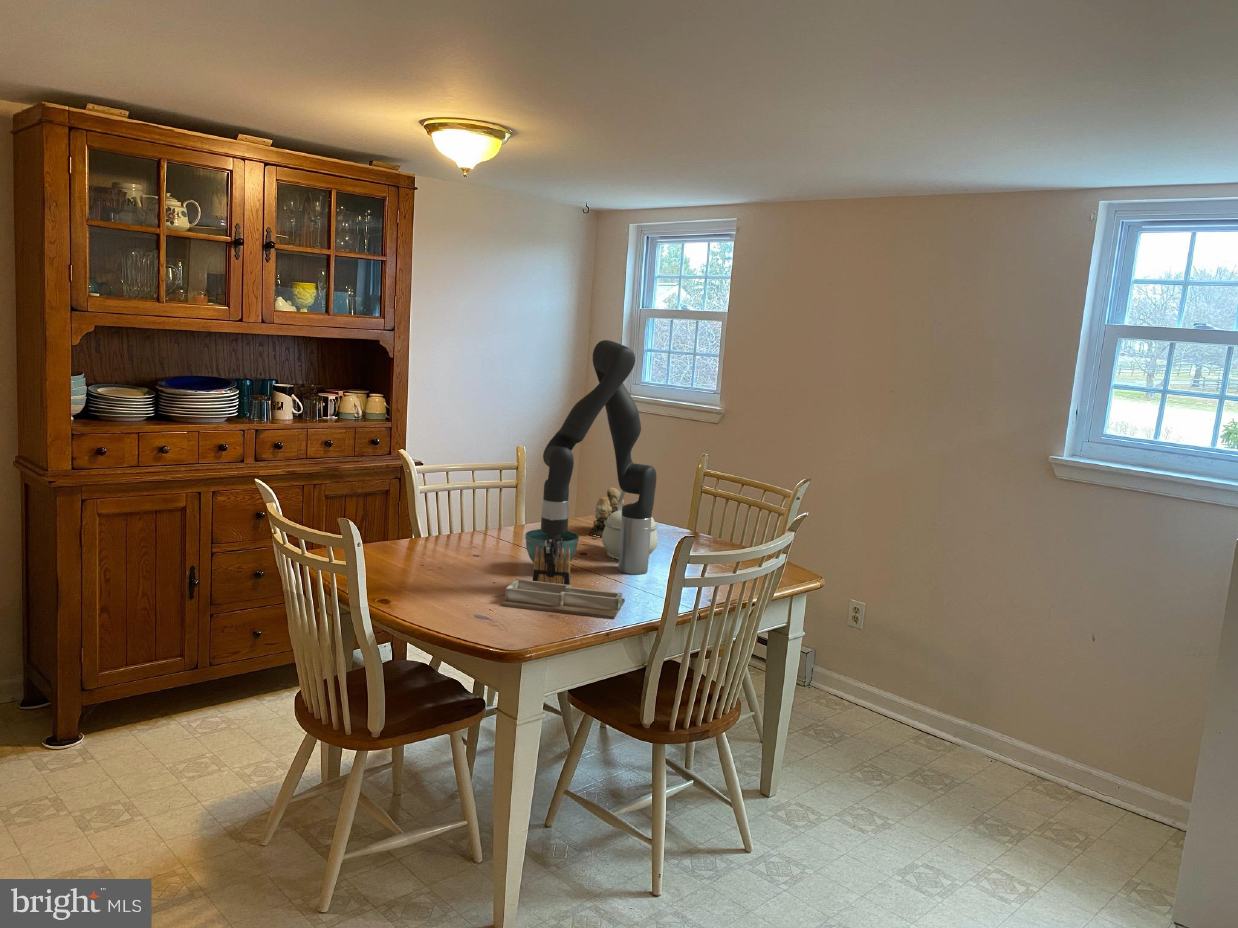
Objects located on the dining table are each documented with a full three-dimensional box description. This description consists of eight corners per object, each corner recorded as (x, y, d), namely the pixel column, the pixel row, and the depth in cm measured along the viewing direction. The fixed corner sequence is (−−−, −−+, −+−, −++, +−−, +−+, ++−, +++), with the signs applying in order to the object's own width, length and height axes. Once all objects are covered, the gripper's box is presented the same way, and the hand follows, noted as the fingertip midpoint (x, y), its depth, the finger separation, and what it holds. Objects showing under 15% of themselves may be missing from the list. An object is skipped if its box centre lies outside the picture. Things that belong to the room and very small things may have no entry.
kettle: (667, 563, 296) (673, 487, 292) (614, 565, 289) (620, 487, 285) (637, 544, 319) (642, 474, 315) (588, 546, 312) (592, 474, 308)
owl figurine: (602, 526, 344) (605, 482, 342) (631, 531, 340) (635, 486, 338) (582, 535, 328) (585, 488, 325) (613, 540, 323) (616, 492, 321)
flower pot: (569, 579, 270) (571, 543, 268) (516, 573, 273) (518, 537, 272) (582, 566, 286) (584, 532, 284) (532, 560, 289) (534, 526, 287)
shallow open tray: (518, 589, 256) (519, 576, 256) (624, 601, 252) (625, 588, 251) (501, 605, 241) (502, 591, 240) (614, 618, 236) (615, 604, 235)
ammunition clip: (531, 586, 260) (533, 545, 258) (533, 585, 262) (535, 544, 260) (569, 590, 259) (571, 548, 257) (570, 588, 261) (572, 547, 259)
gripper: (547, 509, 264) (544, 568, 267) (535, 519, 251) (532, 580, 253) (573, 512, 263) (569, 571, 266) (562, 521, 250) (558, 583, 252)
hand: (551, 575), depth 260 cm, fingers closed on ammunition clip, 2 cm apart
